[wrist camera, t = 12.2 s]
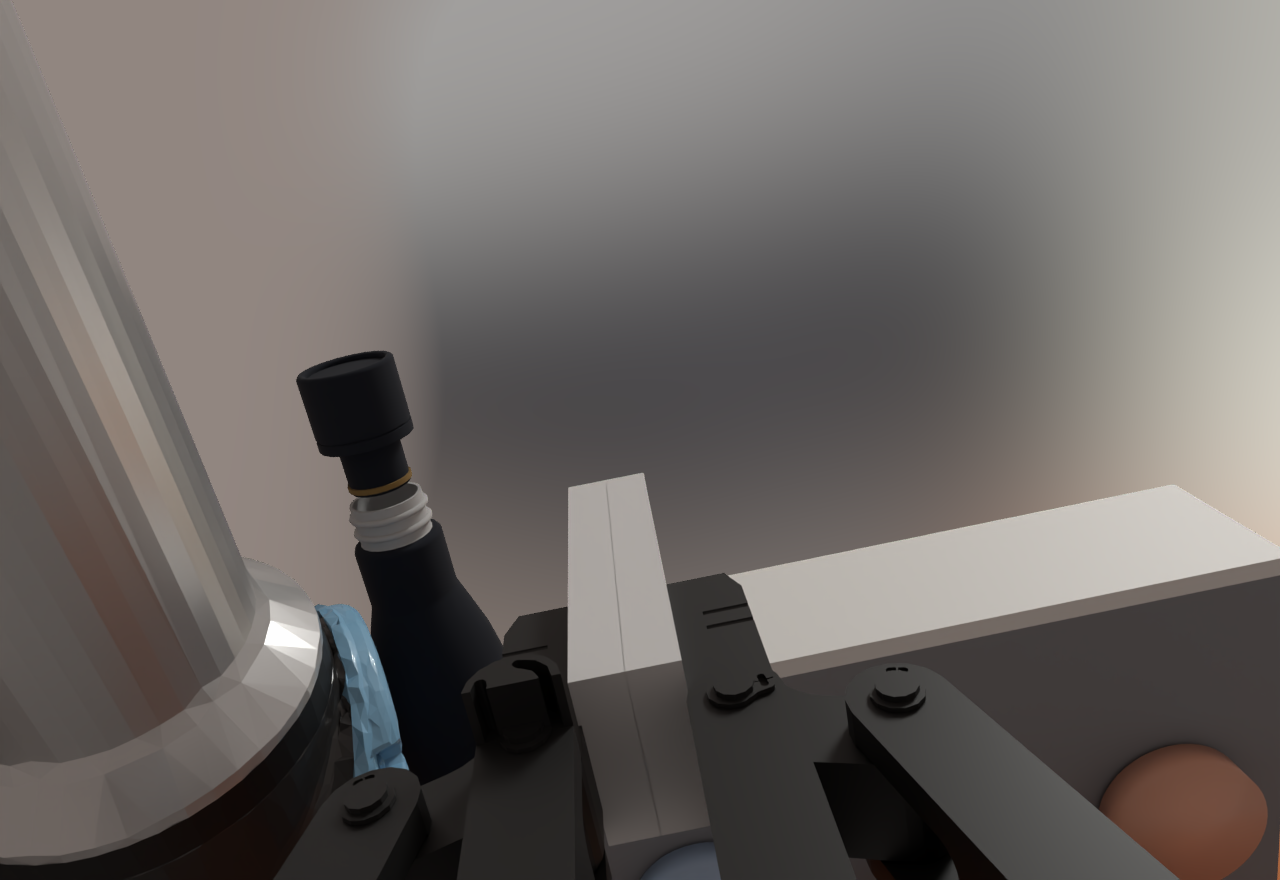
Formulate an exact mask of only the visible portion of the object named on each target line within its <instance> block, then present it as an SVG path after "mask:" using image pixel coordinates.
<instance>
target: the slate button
mask: <svg viewBox="0 0 1280 880" xmlns="http://www.w3.org/2000/svg"><path fill="white" fill-rule="evenodd" d="M640 880H721V878H720V872H719V867H718V862H717V857H716V852H715V847H714V842H704V843H697V844H692V845H688V846H684V847H682V848H679V849H676V850H674V851H672V852H670V853H668V854H666V855H665V856H663V857H662V858H660V859H659V860H657V861H656V862H655V863H654V864H653V865H651V867H650V868H649V869H648V870H647V871H646V872H645V873H644V875H643V876H642V878H641V879H640Z"/></svg>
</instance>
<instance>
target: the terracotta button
mask: <svg viewBox="0 0 1280 880" xmlns="http://www.w3.org/2000/svg"><path fill="white" fill-rule="evenodd" d="M1099 811H1100V812H1102V813H1103V814H1104V815H1105V816H1106V817H1107V818H1109V819H1110V820H1111V821H1112V822H1113V823H1114V824H1116V825H1117V826H1118V827H1119V828H1120V829H1121V830H1123V831H1124V832H1125V833H1126V834H1127V835H1129V836H1130V837H1131V838H1132V839H1133V840H1134V841H1136V842H1137V843H1138V844H1139V845H1140V846H1141V847H1143V848H1144V849H1145V850H1146V851H1147V852H1148V853H1150V854H1151V855H1152V856H1153V857H1154V858H1155V859H1157V860H1158V861H1159V862H1160V863H1161V864H1162V865H1164V866H1165V867H1166V868H1167V869H1168V870H1169V871H1171V872H1172V873H1173V874H1174V875H1175V876H1176V877H1178V878H1179V879H1180V880H1221V879H1223V878H1225V877H1226V876H1228V875H1229V874H1231V873H1232V872H1234V871H1235V870H1236V869H1238V868H1239V867H1240V866H1241V865H1242V864H1243V863H1244V862H1245V861H1246V860H1247V859H1248V858H1249V857H1250V856H1251V855H1252V853H1253V852H1254V851H1255V849H1256V848H1257V846H1258V845H1259V843H1260V841H1261V839H1262V837H1263V835H1264V832H1265V829H1266V825H1267V818H1268V810H1267V804H1266V800H1265V798H1264V795H1263V793H1262V792H1261V790H1260V788H1259V787H1258V786H1257V785H1256V784H1255V783H1254V782H1253V781H1252V780H1251V779H1250V778H1249V777H1248V776H1247V775H1246V774H1245V773H1244V772H1243V771H1242V770H1241V769H1240V768H1239V767H1238V766H1237V765H1236V764H1235V763H1233V762H1232V761H1231V760H1230V759H1229V758H1228V757H1227V756H1226V755H1224V754H1223V753H1221V752H1220V751H1218V750H1216V749H1213V748H1211V747H1208V746H1203V745H1198V744H1178V745H1171V746H1167V747H1163V748H1160V749H1157V750H1154V751H1152V752H1149V753H1147V754H1145V755H1143V756H1141V757H1140V758H1138V759H1137V760H1135V761H1133V762H1132V763H1131V764H1129V765H1128V766H1127V767H1125V768H1124V769H1123V770H1122V771H1121V772H1120V773H1119V774H1118V775H1117V776H1116V777H1115V779H1114V780H1113V781H1112V782H1111V784H1110V785H1109V787H1108V788H1107V790H1106V792H1105V794H1104V795H1103V797H1102V800H1101V803H1100V806H1099Z"/></svg>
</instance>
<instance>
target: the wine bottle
mask: <svg viewBox="0 0 1280 880" xmlns="http://www.w3.org/2000/svg"><path fill="white" fill-rule="evenodd" d="M296 382H297V385H298V388H299V391H300V394H301V397H302V400H303V403H304V406H305V409H306V412H307V415H308V418H309V421H310V424H311V427H312V430H313V434H314V437H315V439H316V441H317V446H318V449H319V452H320V453H321V454H322V455H324V456H329V457H340V459H341V462H342V465H343V469H344V472H345V475H346V478H347V481H348V490H349V493H351V494H352V495H354V496H356V497H358V498H356V499H355V500H353V502H352V503H351V504H350V511H351V514H350V519H349V521H350V523H351V524H352V525H353V526H355V527H356V529H355V532H354V536H355V538H356V539H357V540H358V541H359V543H358V544H357V545H356V548H355V557H356V560H357V563H358V566H359V569H360V572H361V575H362V578H363V581H364V584H365V587H366V590H367V593H368V596H369V599H370V602H371V605H372V618H371V637H372V640H373V642H374V645H375V647H376V650H377V653H378V655H379V658H380V661H381V665H382V668H383V671H384V674H385V677H386V680H387V684H388V687H389V690H390V694H391V697H392V701H393V704H394V708H395V712H396V716H397V720H398V726H399V733H400V738H401V742H402V751H401V753H402V754H403V756H404V757H405V760H406V763H407V765H408V768H409V771H410V772H412V773H413V774H415V775H416V776H417V777H418V780H419V783H420V786H422V785H424V784H427V783H429V782H431V781H434V780H436V779H438V778H441V777H443V776H445V775H447V774H449V773H451V772H453V771H455V770H457V769H459V768H461V767H462V766H464V765H465V764H467V763H468V762H469V761H471V760H472V759H473V758H474V757H475V751H476V743H475V739H474V736H473V733H472V729H471V726H470V723H469V719H468V716H467V713H466V709H465V706H464V703H463V699H462V696H461V692H462V690H463V688H464V686H465V684H466V682H467V681H468V680H469V679H470V678H471V677H472V676H473V675H474V674H475V673H477V672H478V671H479V670H480V669H482V668H484V667H486V666H488V665H489V664H491V663H493V662H495V661H498V660H501V659H502V658H503V656H502V652H503V645H502V644H501V642H500V640H499V638H498V636H497V635H496V633H495V631H494V629H493V627H492V625H491V624H490V622H489V620H488V619H487V617H486V616H485V615H484V613H483V612H482V611H481V609H480V608H479V607H478V605H477V604H476V603H475V601H474V600H473V599H472V597H471V596H470V595H469V593H468V592H467V591H466V589H465V588H464V587H463V585H462V584H461V583H460V582H459V580H458V579H457V577H456V575H455V572H454V568H453V565H452V561H451V558H450V554H449V551H448V548H447V544H446V541H445V537H444V534H443V531H442V527H441V525H440V524H439V523H438V522H436V521H435V520H434V519H431V518H432V510H431V509H430V508H428V507H427V506H426V504H427V502H428V497H427V495H426V494H425V493H423V492H422V490H421V487H420V485H418V484H417V483H412V482H408V481H409V480H410V479H411V476H412V472H411V469H410V467H408V465H407V461H406V458H405V454H404V451H403V448H402V444H401V441H400V439H402V438H403V437H405V436H406V435H408V434H409V433H410V432H411V431H412V430H413V423H412V419H411V416H410V412H409V409H408V406H407V402H406V399H405V395H404V392H403V388H402V385H401V381H400V378H399V374H398V371H397V368H396V364H395V361H394V357H393V354H391V353H390V352H387V351H371V352H363V353H358V354H352V355H348V356H344V357H340V358H336V359H333V360H330V361H326V362H324V363H321V364H318V365H316V366H313V367H311V368H309V369H307V370H305V371H303V372H302V373H300V374H299V375H298V377H297V380H296Z"/></svg>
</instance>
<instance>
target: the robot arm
mask: <svg viewBox="0 0 1280 880" xmlns="http://www.w3.org/2000/svg"><path fill="white" fill-rule="evenodd" d="M568 491H569V492H568V494H569V495H568V499H569V500H568V505H569V506H568V607H564V608H559V609H553V610H548V611H544V612H539V613H534V614H529V615H524V616H519V617H518V618H517V620H516V621H515V622H514V624H513V625H512V626H511V628H510V629H509V630H508V632H507V633H506V634H505V636H504V644H503V652H502V656H503V658H502V659H501V660H498V661H495V662H493V663H491V664H489V665H488V666H486V667H484V668H482V669H480V670H479V671H478V672H477V673H475V674H474V675H473V676H472V677H471V678H470V679H469V680H468V681H467V682H466V684H465V686H464V688H463V690H462V692H461V696H462V699H463V703H464V706H465V709H466V713H467V716H468V719H469V723H470V726H471V729H472V733H473V736H474V739H475V743H476V751H475V757H474V758H473V759H472V760H471V761H469V762H468V763H467V764H465V765H464V766H462V767H461V768H459V769H457V770H455V771H453V772H451V773H449V774H447V775H445V776H443V777H441V778H438V779H436V780H434V781H431V782H429V783H427V784H424V785H422V786H420V783H419V780H418V777H417V776H416V775H415V774H413V773H412V772H410V771H409V768H408V765H407V763H406V760H405V757H404V756H403V754H402V753H401V751H402V742H401V738H400V733H399V726H398V720H397V716H396V712H395V708H394V704H393V701H392V697H391V694H390V690H389V687H388V684H387V680H386V677H385V674H384V671H383V668H382V665H381V661H380V658H379V655H378V653H377V650H376V647H375V645H374V642H373V640H372V637H371V635H370V633H369V630H368V627H367V626H366V624H365V622H364V620H363V618H362V617H361V615H360V614H359V613H358V611H357V610H356V609H354V608H352V607H351V606H349V605H344V604H337V605H331V606H325V605H319V604H318V605H316V606H314V605H313V602H312V601H311V599H310V598H309V597H308V595H307V594H306V593H305V591H304V590H303V589H302V588H301V587H300V585H299V584H298V583H297V582H296V581H295V580H294V579H293V578H291V577H290V576H288V575H287V574H285V573H284V572H283V571H281V570H279V569H277V568H275V567H273V566H270V565H268V564H266V563H263V562H259V561H256V560H253V559H250V558H244V557H241V555H240V553H239V550H238V548H237V545H236V543H235V540H234V538H233V535H232V533H231V531H230V528H229V526H228V523H227V521H226V518H225V516H224V514H223V511H222V509H221V506H220V504H219V501H218V499H217V497H216V494H215V492H214V489H213V487H212V485H211V482H210V480H209V477H208V475H207V472H206V470H205V468H204V465H203V463H202V460H201V458H200V455H199V453H198V450H197V448H196V446H195V443H194V441H193V439H192V436H191V433H190V431H189V429H188V426H187V424H186V421H185V419H184V416H183V414H182V412H181V409H180V407H179V404H178V402H177V400H176V397H175V395H174V392H173V390H172V387H171V385H170V383H169V380H168V378H167V375H166V373H165V370H164V368H163V366H162V363H161V361H160V358H159V356H158V353H157V351H156V348H155V346H154V344H153V341H152V339H151V336H150V334H149V331H148V329H147V327H146V325H145V322H144V319H143V317H142V315H141V312H140V310H139V307H138V305H137V303H136V300H135V298H134V295H133V293H132V290H131V288H130V285H129V283H128V281H127V278H126V276H125V273H124V271H123V268H122V266H121V264H120V261H119V259H118V256H117V254H116V251H115V249H114V247H113V244H112V242H111V240H110V237H109V234H108V232H107V230H106V227H105V225H104V222H103V220H102V217H101V215H100V212H99V210H98V208H97V205H96V203H95V200H94V198H93V195H92V193H91V191H90V188H89V186H88V183H87V181H86V178H85V176H84V174H83V171H82V169H81V166H80V164H79V161H78V159H77V157H76V154H75V152H74V149H73V147H72V144H71V142H70V140H69V137H68V135H67V132H66V130H65V127H64V125H63V123H62V120H61V118H60V115H59V113H58V111H57V108H56V106H55V103H54V101H53V98H52V96H51V94H50V91H49V89H48V86H47V84H46V81H45V79H44V77H43V74H42V72H41V69H40V67H39V64H38V62H37V59H36V57H35V55H34V53H33V50H32V47H31V45H30V42H29V40H28V38H27V35H26V33H25V30H24V28H23V26H22V23H21V21H20V18H19V16H18V13H17V11H16V8H15V6H14V4H13V1H12V0H0V880H612V875H611V871H610V867H609V863H608V859H607V855H606V851H605V846H604V830H605V834H606V838H607V842H608V845H609V846H613V845H618V844H623V843H628V842H633V841H638V840H643V839H648V838H653V837H658V836H663V835H667V834H672V833H677V832H682V831H687V830H692V829H697V828H702V827H707V826H711V831H712V836H713V841H714V847H715V852H716V857H717V862H718V867H719V872H720V878H721V880H857V879H856V876H855V873H854V871H853V868H852V865H851V863H850V860H849V858H859V859H866V861H867V864H868V866H869V868H870V870H871V872H872V874H873V875H874V877H875V878H876V879H877V880H1180V879H1179V878H1178V877H1176V876H1175V875H1174V874H1173V873H1172V872H1171V871H1169V870H1168V869H1167V868H1166V867H1165V866H1164V865H1162V864H1161V863H1160V862H1159V861H1158V860H1157V859H1155V858H1154V857H1153V856H1152V855H1151V854H1150V853H1148V852H1147V851H1146V850H1145V849H1144V848H1143V847H1141V846H1140V845H1139V844H1138V843H1137V842H1136V841H1134V840H1133V839H1132V838H1131V837H1130V836H1129V835H1127V834H1126V833H1125V832H1124V831H1123V830H1121V829H1120V828H1119V827H1118V826H1117V825H1116V824H1114V823H1113V822H1112V821H1111V820H1110V819H1109V818H1107V817H1106V816H1105V815H1104V814H1103V813H1102V812H1100V811H1099V810H1098V809H1097V808H1096V807H1095V806H1093V805H1092V804H1091V803H1090V802H1089V801H1088V800H1086V799H1085V798H1084V797H1083V796H1082V795H1081V794H1079V793H1078V792H1077V791H1076V790H1075V789H1074V788H1072V787H1071V786H1070V785H1069V784H1068V783H1067V782H1065V781H1064V780H1063V779H1062V778H1061V777H1060V776H1058V775H1057V774H1056V773H1055V772H1054V771H1052V770H1051V769H1050V768H1049V767H1048V766H1047V765H1045V764H1044V763H1043V762H1042V761H1041V760H1040V759H1038V758H1037V757H1036V756H1035V755H1034V754H1033V753H1031V752H1030V751H1029V750H1028V749H1027V748H1026V747H1024V746H1023V745H1022V744H1021V743H1020V742H1019V741H1017V740H1016V739H1015V738H1014V737H1013V736H1012V735H1010V734H1009V733H1008V732H1007V731H1006V730H1005V729H1003V728H1002V727H1001V726H1000V725H999V724H998V723H996V722H995V721H994V720H993V719H992V718H991V717H989V716H988V715H987V714H986V713H985V712H983V711H982V710H981V709H980V708H979V707H978V706H976V705H975V704H974V703H973V702H972V701H971V700H969V699H968V698H967V697H966V696H965V695H964V694H962V693H961V692H960V691H959V690H958V689H957V688H955V687H954V686H953V685H952V684H951V683H950V682H948V681H947V680H946V679H945V678H944V677H942V676H941V675H939V674H937V673H935V672H934V671H932V670H930V669H929V668H925V667H921V666H917V665H913V664H909V663H888V664H884V665H879V666H875V667H870V668H868V669H867V670H865V671H863V672H861V673H859V674H857V675H856V676H855V677H854V678H853V679H852V680H851V682H850V683H849V684H848V685H847V687H846V694H845V696H823V695H813V694H808V693H804V692H800V691H797V690H795V689H792V688H790V687H788V686H786V685H785V684H784V682H783V681H782V680H781V678H780V677H779V676H778V674H777V673H776V672H774V671H773V670H772V668H771V665H770V662H769V660H768V657H767V654H766V651H765V649H764V646H763V643H762V640H761V638H760V635H759V632H758V629H757V627H756V624H755V621H754V620H753V616H752V613H751V610H750V607H749V606H748V602H747V599H746V596H745V594H744V591H743V588H742V586H741V585H740V584H739V583H737V582H736V581H734V580H733V579H732V578H730V577H729V576H727V575H726V574H725V573H722V574H717V575H712V576H707V577H702V578H697V579H692V580H687V581H682V582H677V583H672V584H667V585H666V581H665V576H664V571H663V566H662V561H661V556H660V552H659V547H658V542H657V537H656V532H655V527H654V522H653V517H652V512H651V508H650V503H649V498H648V493H647V488H646V483H645V478H644V474H643V473H639V474H634V475H629V476H624V477H619V478H614V479H610V480H604V481H599V482H594V483H589V484H584V485H579V486H574V487H569V490H568Z"/></svg>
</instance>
